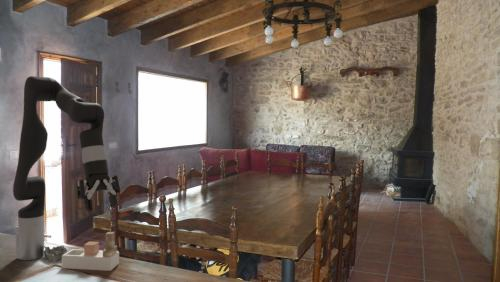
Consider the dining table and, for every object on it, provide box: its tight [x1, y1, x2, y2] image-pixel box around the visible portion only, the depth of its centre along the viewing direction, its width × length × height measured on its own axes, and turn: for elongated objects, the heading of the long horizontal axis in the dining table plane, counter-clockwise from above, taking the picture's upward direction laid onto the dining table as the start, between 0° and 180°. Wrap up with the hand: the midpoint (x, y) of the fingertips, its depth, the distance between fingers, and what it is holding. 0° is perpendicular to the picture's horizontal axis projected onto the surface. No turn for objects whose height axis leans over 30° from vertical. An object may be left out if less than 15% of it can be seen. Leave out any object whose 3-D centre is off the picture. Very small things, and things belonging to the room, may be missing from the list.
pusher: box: [103, 231, 118, 257], centre depth 148 cm, size 3×6×8 cm, turn 176°
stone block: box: [83, 240, 100, 255], centre depth 149 cm, size 4×4×4 cm
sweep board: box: [61, 248, 120, 272], centre depth 149 cm, size 20×8×5 cm, turn 85°
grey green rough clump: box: [43, 245, 68, 262], centre depth 158 cm, size 11×8×4 cm
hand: (102, 209), depth 125 cm, fingers open, 8 cm apart
